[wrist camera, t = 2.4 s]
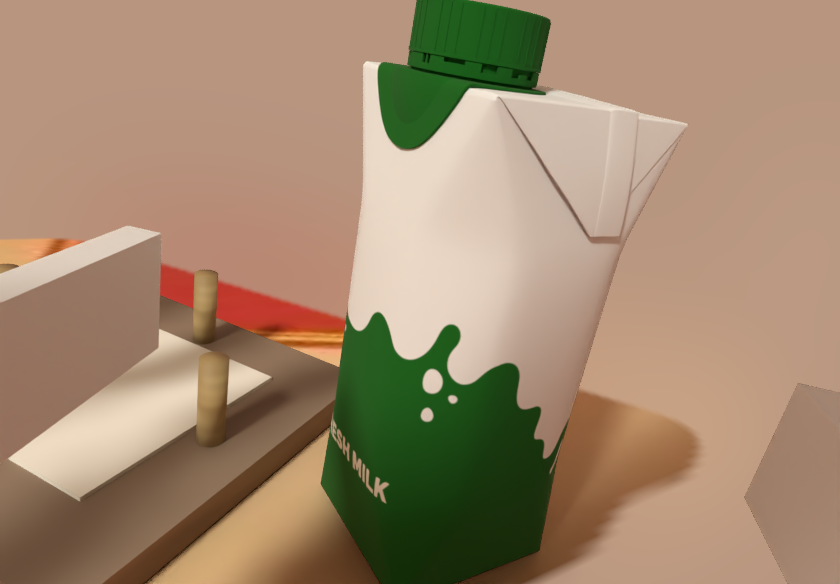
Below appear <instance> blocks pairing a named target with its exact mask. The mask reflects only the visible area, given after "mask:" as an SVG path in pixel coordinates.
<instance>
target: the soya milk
mask: <svg viewBox="0 0 840 584" xmlns="http://www.w3.org/2000/svg"><path fill="white" fill-rule="evenodd" d="M550 25H551V23H550V20H549V19H548V18H546V17H543V16H540V15H537V14H533V13H529V12H525V11H521V10H517V9H512V8H508V7H503V6H497V5H492V4H487V3H482V2H476V1H470V0H417V2H416V9H415V15H414V21H413V27H412V34H411V40H410V46H409V50H410V51H409V57H408V65H410V66H407V65H400V64H393V63H387V62H383V63H378V62H369V61H366V62H365V64H364V65H363V190H362V192H363V193H362V203H361V212H360V219H359V227H358V235H357V242H356V249H355V257H354V264H353V272H352V279H351V286H350V294H349V302H348V309H347V316H346V323H345V331H344V338H343V345H342V353H341V360H340V368H339V375H338V382H337V389H336V397H335V404H334V410H333V416H332V422H331V427H330V433H329V439H328V445H327V450H326V456H325V462H324V468H323V474H322V479H321V485H322V487H323V488H324V490H325V492H326V493H327V495H328V497H329V498H330V500H331V502H332V503H333V505H334V507H335V508H336V510H337V512H338V513H339V515H340V517H341V518H342V520H343V522H344V523H345V525H346V527H347V528H348V530H349V532H350V533H351V535H352V537H353V538H354V540H355V542H356V543H357V545H358V547H359V548H360V550H361V552H362V553H363V555H364V557H365V558H366V560H367V562H368V563H369V565H370V567H371V568H372V570H373V572H374V573H375V575H376V577H377V578H378V580H379V582H380V583H381V584H455V583H457V582H460V581H462V580H465V579H468V578H470V577H473V576H475V575H478V574H480V573H483V572H485V571H488V570H491V569H493V568H496V567H498V566H501V565H503V564H506V563H508V562H511V561H514V560H516V559H519V558H521V557H524V556H526V555H529V554H531V553H534V552H537V551H539V549H540V544H541V539H542V534H543V529H544V524H545V519H546V514H547V508H548V503H549V498H550V493H551V488H552V483H553V478H554V473H555V468H556V463H557V458H558V454H559V451H560V448H561V444H562V441H563V438H564V434H565V431H566V428H567V425H568V421H569V418H570V415H571V412H572V408H573V405H574V402H575V399H576V395H577V392H578V389H579V386H580V382H581V379H582V376H583V373H584V369H585V366H586V363H587V360H588V356H589V353H590V350H591V347H592V343H593V340H594V337H595V333H596V330H597V327H598V324H599V320H600V318H601V314H602V311H603V308H604V305H605V301H606V298H607V295H608V292H609V288H610V285H611V282H612V279H613V276H614V273H615V270H616V267H617V263H618V260H619V257H620V254H621V252H622V250H623V247H624V245H625V242H626V240H627V238H628V236H629V234H630V232H631V230H632V228H633V226H634V224H635V223H636V221H637V219H638V217H639V215H640V213H641V211H642V209H643V208H644V206H645V204H646V202H647V200H648V198H649V196H650V194H651V193H652V191H653V189H654V187H655V185H656V183H657V181H658V180H659V178H660V176H661V174H662V172H663V170H664V168H665V167H666V165H667V163H668V161H669V159H670V157H671V155H672V154H673V152H674V150H675V148H676V146H677V144H678V142H679V141H680V139H681V137H682V135H683V133H684V131H685V129H686V128H687V126H688V124H686V123H682V122H678V121H673V120H668V119H664V118H660V117H656V116H651V115H647V114H642V113H638V112H637V111H634V110H631V109H627V108H624V107H620V106H616V105H613V104H609V103H605V102H602V101H598V100H594V99H591V98H587V97H584V96H580V95H577V94H573V93H569V92H565V91H561V90H557V89H553V88H549V87H543V86H538V85H537V82H538V76H539V74H538V73H540V71H541V66H542V62H543V57H544V52H545V48H546V43H547V39H548V34H549V29H550ZM412 50H414V51H412Z"/></svg>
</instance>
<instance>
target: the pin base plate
mask: <svg viewBox="0 0 840 584" xmlns="http://www.w3.org/2000/svg"><path fill="white" fill-rule="evenodd" d="M17 267H19V266H18V265H14V264H0V274H1V273H4V272H6V271H9V270H12V269H14V268H17ZM217 288H218V273H217V272H215V271H212V270H199V271H196V272H195V279H194V309H193V308H190V307H188V306H186V305H183V304H181V303H178V302H176V301H173V300H171V299H168V298H166V297H163V296H161V295H160V310H159V348H158V349H156V350H155V351H154V352H152V353H151V354H149V355H148V356H147V357H145V358H144V359H143V360H141V361H140V362H139V363H137V364H136V365H135V366H133V367H132V368H130V369H129V370H128V371H126V372H125V373H124V374H122V375H121V376H120V377H118V378H117V379H115V380H114V381H113V382H111V383H110V384H109V385H107V386H106V387H105V388H103V389H102V390H101V391H99V392H98V393H96V394H95V395H94V396H92V397H91V398H90V399H88V400H87V401H86V402H84V403H83V404H81V405H80V406H79V407H77V408H76V409H75V410H73V411H72V412H71V413H69V414H68V415H66V416H65V417H64V418H62V419H61V420H60V421H58V422H57V423H56V424H54V425H53V426H52V427H50V428H49V429H47V430H46V431H45V432H43V433H42V434H41V435H39V436H38V437H37V438H35V439H34V440H32V441H31V442H30V443H28V444H27V445H26V446H24V447H23V448H22V449H20V450H19V451H18V452H16V453H15V454H13V455H12V456H11V457H9V458H8V459H7V460H5V461H4V462H3V463H1V464H0V584H144V583H145V582H146V581H147V580H148V579H150V578H151V577H152V576H153V575H154V574H155V573H157V572H158V571H159V570H160V569H161V568H162V567H164V566H165V565H166V564H167V563H168V562H170V561H171V560H172V559H173V558H174V557H175V556H177V555H178V554H179V553H180V552H181V551H183V550H184V549H185V548H186V547H187V546H188V545H190V544H191V543H192V542H193V541H194V540H195V539H197V538H198V537H199V536H200V535H201V534H203V533H204V532H205V531H206V530H207V529H208V528H210V527H211V526H212V525H213V524H214V523H215V522H217V521H218V520H219V519H220V518H221V517H223V516H224V515H225V514H226V513H227V512H228V511H230V510H231V509H232V508H233V507H234V506H236V505H237V504H238V503H239V502H240V501H241V500H243V499H244V498H245V497H246V496H247V495H248V494H250V493H251V492H252V491H253V490H254V489H256V488H257V487H258V486H259V485H260V484H261V483H263V482H264V481H265V480H266V479H267V478H268V477H270V476H271V475H272V474H273V473H274V472H276V471H277V470H278V469H279V468H280V467H281V466H283V465H284V464H285V463H286V462H287V461H289V460H290V459H291V458H292V457H293V456H294V455H296V454H297V453H298V452H299V451H300V450H301V449H303V448H304V447H305V446H306V445H307V444H309V443H310V442H311V441H312V440H313V439H314V438H316V437H317V436H318V435H319V434H320V433H321V432H323V431H324V430H325V429H326V428H327V427H329V426H330V425H331V422H332V416H333V410H334V404H335V397H336V389H337V382H338V375H339V368H340V367H337V366H335V365H332V364H330V363H327V362H325V361H322V360H320V359H317V358H315V357H312V356H310V355H307V354H305V353H302V352H300V351H297V350H295V349H292V348H290V347H287V346H285V345H282V344H280V343H277V342H275V341H273V340H270V339H268V338H265V337H263V336H260V335H258V334H255V333H253V332H250V331H248V330H245V329H243V328H240V327H238V326H235V325H233V324H230V323H228V322H225V321H223V320H220V319H218V318H216V310H217Z"/></svg>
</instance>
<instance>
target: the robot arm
mask: <svg viewBox="0 0 840 584" xmlns="http://www.w3.org/2000/svg"><path fill="white" fill-rule="evenodd" d="M160 268H161V233H158V232H153V231H149V230H145V229H140V228H136V227H132V226H126V227H123V228H120V229H118V230H115V231H112V232H110V233H107V234H105V235H102V236H99V237H97V238H94V239H91V240H88V241H86V242H83V243H81V244H78V245H75V246H73V247H70V248H67V249H65V250H62V251H59V252H57V253H54V254H51V255H49V256H46V257H43V258H41V259H38V260H35V261H33V262H30V263H28V264H25V265H22V266H20V267H17V268H14V269H12V270H9V271H6V272H4V273H1V274H0V464H1V463H3V462H4V461H5V460H7V459H8V458H9V457H11V456H12V455H13V454H15V453H16V452H18V451H19V450H20V449H22V448H23V447H24V446H26V445H27V444H28V443H30V442H31V441H32V440H34V439H35V438H37V437H38V436H39V435H41V434H42V433H43V432H45V431H46V430H47V429H49V428H50V427H52V426H53V425H54V424H56V423H57V422H58V421H60V420H61V419H62V418H64V417H65V416H66V415H68V414H69V413H71V412H72V411H73V410H75V409H76V408H77V407H79V406H80V405H81V404H83V403H84V402H86V401H87V400H88V399H90V398H91V397H92V396H94V395H95V394H96V393H98V392H99V391H101V390H102V389H103V388H105V387H106V386H107V385H109V384H110V383H111V382H113V381H114V380H115V379H117V378H118V377H120V376H121V375H122V374H124V373H125V372H126V371H128V370H129V369H130V368H132V367H133V366H135V365H136V364H137V363H139V362H140V361H141V360H143V359H144V358H145V357H147V356H148V355H149V354H151V353H152V352H154V351H155V350H156V349H158V348H159V310H160ZM745 500H746V502H747V503H748V506H749V507H750V509H751V512H752V514H753V516H754V518H755V520H756V522H757V524H758V526H759V528H760V529H761V532H762V533H763V536H764V538H765V539H766V542H767V544H768V546H769V548H770V549H771V551H772V554H773V556H774V558H775V560H776V561H777V564H778V565H779V567H780V570H781V572H782V574H783V576H784V578H785V580H786V581H787V584H840V393H838V392H833V391H830V390H825V389H821V388H817V387H812V386H808V385H804V384H800V383H798V385H797V387H796V389H795V391H794V393H793V395H792V397H791V399H790V401H789V404H788V406H787V408H786V410H785V412H784V414H783V417H782V419H781V421H780V423H779V425H778V427H777V429H776V431H775V433H774V435H773V438H772V440H771V442H770V444H769V446H768V448H767V450H766V452H765V455H764V457H763V459H762V461H761V463H760V465H759V467H758V470H757V471H756V474H755V476H754V478H753V480H752V482H751V484H750V486H749V488H748V491H747V493H746V495H745Z"/></svg>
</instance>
